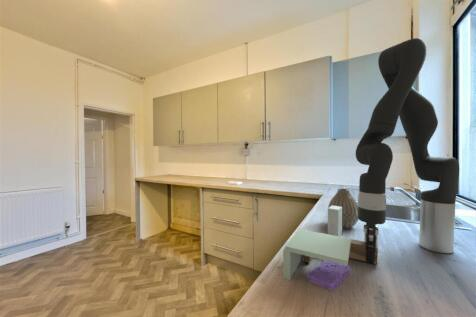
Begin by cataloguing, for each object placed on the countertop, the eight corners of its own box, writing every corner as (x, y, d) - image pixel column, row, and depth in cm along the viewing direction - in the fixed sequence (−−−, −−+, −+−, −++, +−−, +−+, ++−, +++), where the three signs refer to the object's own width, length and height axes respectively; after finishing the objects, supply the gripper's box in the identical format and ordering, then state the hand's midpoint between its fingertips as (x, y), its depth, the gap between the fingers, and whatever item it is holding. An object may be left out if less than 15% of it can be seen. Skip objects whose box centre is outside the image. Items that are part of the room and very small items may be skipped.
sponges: (350, 273, 63) (350, 267, 63) (332, 292, 54) (332, 285, 54) (326, 264, 68) (326, 258, 68) (306, 280, 59) (306, 274, 59)
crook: (312, 244, 79) (312, 231, 79) (376, 259, 69) (377, 244, 69) (303, 260, 68) (303, 245, 68) (378, 281, 57) (379, 262, 57)
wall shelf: (297, 254, 73) (297, 228, 72) (350, 268, 65) (351, 238, 64) (282, 277, 60) (283, 245, 59) (346, 297, 52) (347, 261, 51)
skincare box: (331, 232, 92) (331, 205, 92) (342, 235, 90) (342, 206, 89) (327, 236, 88) (327, 208, 87) (338, 239, 85) (338, 209, 85)
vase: (330, 230, 95) (331, 191, 94) (325, 220, 108) (326, 186, 107) (363, 233, 92) (364, 192, 91) (354, 223, 105) (354, 187, 104)
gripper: (387, 213, 60) (385, 273, 60) (384, 203, 72) (382, 253, 73) (357, 209, 64) (355, 266, 64) (358, 200, 76) (357, 248, 76)
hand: (370, 259), depth 68 cm, fingers closed on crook, 3 cm apart
